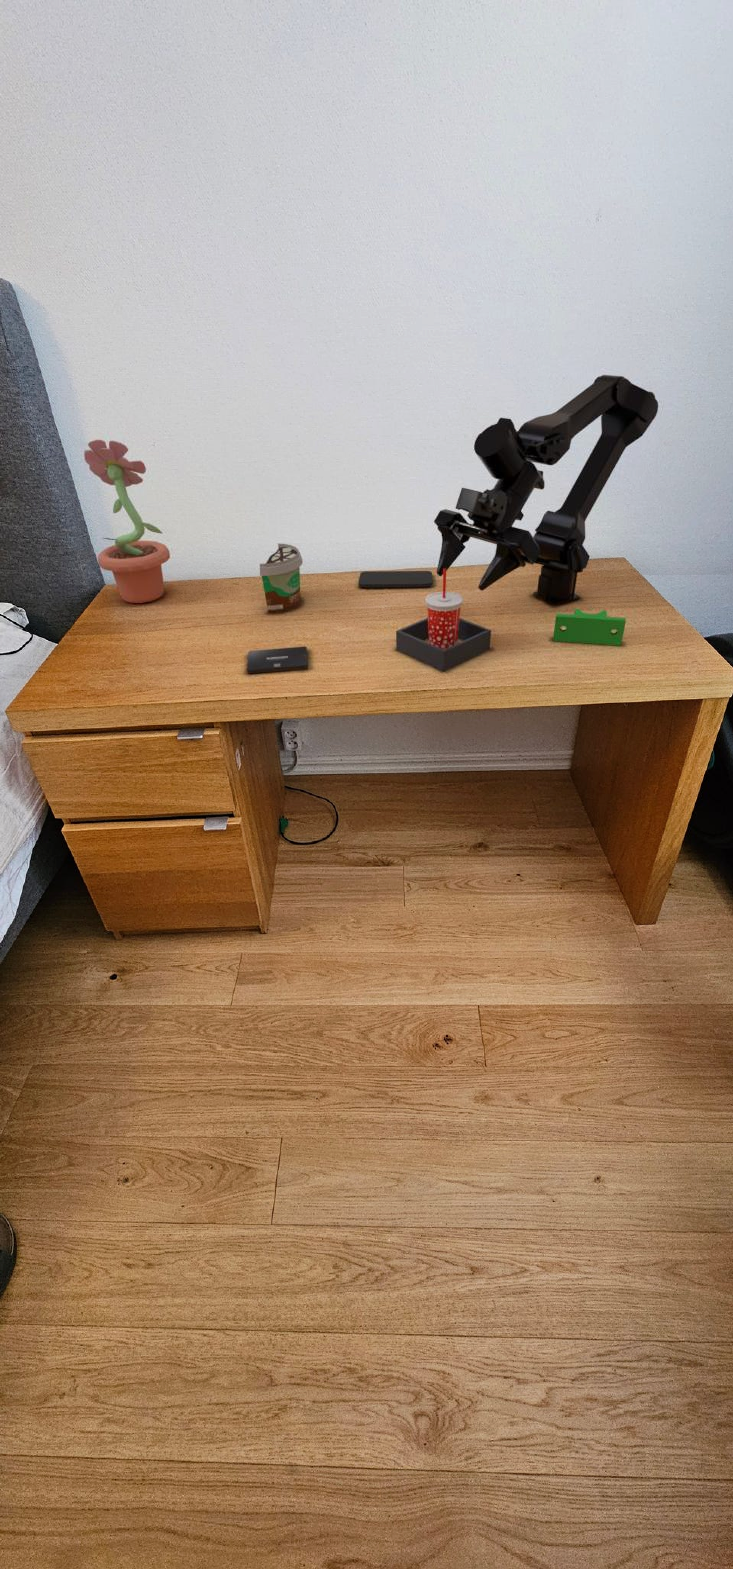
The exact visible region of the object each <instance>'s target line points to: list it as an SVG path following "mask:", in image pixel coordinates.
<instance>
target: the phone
mask: <svg viewBox="0 0 733 1569" xmlns="http://www.w3.org/2000/svg"><path fill="white" fill-rule="evenodd" d="M432 586H433V572H432V571H430V570H381V571H379V570H376V571H375V570H374V571H373V570H372V571H369V570H368V571H361V572H360V574H359V578H358V587H359V588H363V589H365V588H367V589H369V588H370V589H371V588H429V587H432Z"/></svg>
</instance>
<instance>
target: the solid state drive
mask: <svg viewBox="0 0 733 1569" xmlns="http://www.w3.org/2000/svg"><path fill="white" fill-rule="evenodd" d="M308 661H309V660H308V647H307V646H305V645H304V646H293V647H280V648H270V649H260V650H259V649H258V650H249V651H248V653H247V664H246V672H247V674H255V673H256V674H259V673H270V672H281V671H282V672H283V671H294V670H295V671H296V670H305V669H308V668H309V663H308Z"/></svg>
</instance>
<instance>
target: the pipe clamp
mask: <svg viewBox="0 0 733 1569" xmlns="http://www.w3.org/2000/svg"><path fill="white" fill-rule="evenodd" d="M626 622H627V618H626V617H619V616H618V617H616V616H608V610H607V609H602V610H601V611H600V612H598V613H588V612H587V613H586V612H583V611H582V610H580V608H574V611H573V614H568V613H567V614H566V613H555V620H554V628H553V636H552V642H562V643H577V644H578V643H579V644H591V645H607V646H622V643H623V638H624V633H625V627H626ZM562 627H565V629H562ZM612 631H615V632H612Z"/></svg>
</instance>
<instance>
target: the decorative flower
mask: <svg viewBox="0 0 733 1569" xmlns="http://www.w3.org/2000/svg"><path fill="white" fill-rule="evenodd" d="M87 446H88V448H89V449H85V450H84V452H83V455H84V456H83V457H84V458H83V459H84V461H85V463H86V464H88V466H89V470H90V471H91V473H93V475H95V476H96V477H98V478H99V479H100V480H101V482H103V483H105V484H106V485H109V486H114V488H115V491H116V493H117V494H116V495H117V496H118V498H117V499H115V501H114V503H113V507H112V514H117V513H119V512H120V511H121V510H122V508H124V510H125V512H126V514H127V516H128V517H129V519H130V520H131V522H132V523H133V525H134V530H133V531H132V532H130V533H126V534H123V535H119V536H117V537H116V538H110V537H109V538H108V537H103V540H109V541H114V544H113V545H110V546H108V547H106V548H104V549H103V550H102V551H101V552H100V553H98V556H97V562H98V566H99V567H100V568H101V569H102V570H105V571H110V572H112V575H113V578H114V581H115V585H116V587H117V590H118V593H119V595H120V597H121V599H122V600H124V602H127V603H131V604H133V603H134V604H143V603H149V602H153V601H157V600H158V599H160V598H161V597H162V596H163V595H164V593H165V592H164V591H165V584H164V575H163V568H162V565H163V564H165V563H167V562H168V561H169V560H170V558H171V553H170V550H169V548H168V546H167V545H165V544H164V543H162V542H158V541H155V540H154V541H153V540H141V539H142V538H143V536H144V534H145V533H146V532H145V529H147V530H148V531H149V532H153V533H155V534H160V535H161V534H163V531H161V530H160V529H159V528H158V527H157V526H155V525H153V524H151V523H149V522H148V523H147V522H143V518H142V517H141V515H140V514H139V512H138V511H137V510H136V508H135V506H134V504H133V502H132V501H131V498H130V496H129V494H128V491H127V487H131V486H132V485H136V486H137V485H139V484H141V483H143V481H144V478H142V477H141V476H140V475H139V474H141V475H144V474H145V473H146V472H147V468H146V465H145V463H144V462H143V461H142V460H131V461H130V460H128V459H127V458H126V457H124V456H125V455H126V454H127V453H128V451H129V448H128V446H126V445H125V444H124V443H122V442H119V441H117V440H109V442H108V445H107V443H106V441H105V440H103V439H93V440H91V441H89V442H88V443H87ZM107 446H108V447H107Z"/></svg>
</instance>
